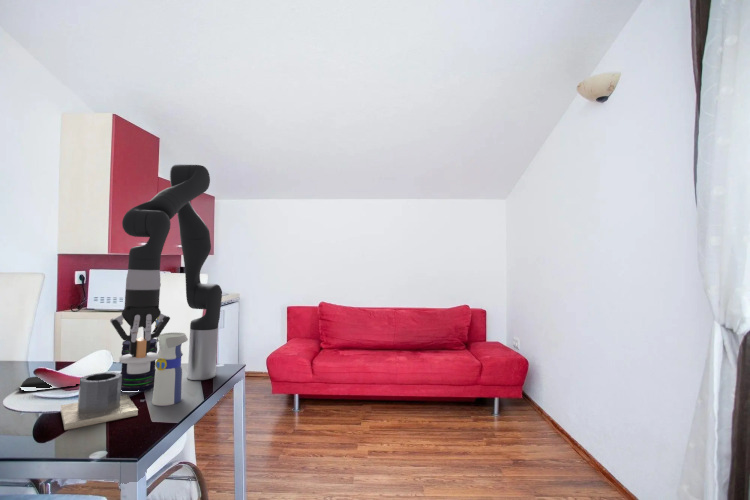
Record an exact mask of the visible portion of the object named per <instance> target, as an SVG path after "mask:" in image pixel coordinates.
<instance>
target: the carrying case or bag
mask: <svg viewBox="0 0 750 500" xmlns="http://www.w3.org/2000/svg"><path fill="white" fill-rule="evenodd" d="M20 387H36V388H50V387H52V386H51V385H49V384H47V383H46V382H44V381H43V380H41V379H40V378H38V377H37V376H30V377H27V378H26V379H25V380H24V381H23V382H22V383H21V385H20V386H19V391H21V392H22V393H26V392H25V391H24V390H21V388H20Z"/></svg>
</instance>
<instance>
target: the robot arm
mask: <svg viewBox="0 0 750 500" xmlns="http://www.w3.org/2000/svg"><path fill="white" fill-rule="evenodd" d="M210 177H211V176H210V173H209V170H208V168H206V166H204V165H201V164H174V165H172V166H171V167H170V171H169V181H170V187H167V188H165V189H163V190H161V191H159V192H158V193H157V194H156V195H155V196H153V197H152V198H151V199H150V200H148V201H146V202H143V203H140V204H138V205H136V206H133V207H132V208H130V209H129V210H128V211H127V212H125V214H124V216H123V218H122V221H121V224H122V229H123V231H124V232H125V233H126V234H127V235H129V236H130V237H135V238H136V237H137V238H148V240H147V242H146V243H145V244H143V245H142V244H141V245H137V246H133V247H131V248H130V249H129V253H128V266H127V274H126V279H125V280H126V281H125V294H124V307H123V310H122V312H121V315H119V316H116V317H115V318H110V321H109V322H110V324H111V325H112V327H113V328H114V329H115V331H116V333H117V334H118V335H119V337H120V338H121V339H122V340H123V341H126V340H127V341H129V342H130V343H129V353H130V355H132V357H136V348H137V342H136V340H137V338H138V333H139V329H140V328H142V331H143V337H142V338H144V339H145V340H147V343H146V355H147V353H149V351H150V341H151V339H157V337H158V336H159V335H160V334H162V333H163V330H164V329H165V327H166V326H167V324H168V323H169V321H170V320H171V317H170V316H168V315H166V314H163V313H161V312H162V311H161V309H160V294H161V283H162V282H161V258H162V252H163V250H164V246H165V244H166V240H167V238H168V235H169V233H170V229H171V220H172V219H173V218H174V216H176V215H177V219H178V221H177V222H178V227H179V237H180V245H181V250H182V255H183V262H184V263H183V264H184V265H183V266H184V272H185V276H184V277H185V297H186V302H187V304H188V307H189V308H190V309H193V310H205V314H204V315H203V316H200V317H198V318H194V319H192V320H191V321H190V324H189V345H188V360H187V375H186V378H187V379H188V380H190V381H191V380H192V381H205V380H209V379H213V378H215V377H216V374H217V373H216V372H217V371H216V370H217V358H218V357H217V355H218V354H217V353H218V339H219V337H218V334H219V322H220V318H221V306H222V300H223V299H222V298H223V291H222V288H221V286H220V284H216V283H202V282H201V270H202V268H203V265H204V263H205V262H206V260H207V258H208V256H209V255H210V254H211V249H212V243H211V242H212V241H211V233H210V229H209V228H208V225H206V223H205V222H204V220H203V219H202V218H201V216H200V215H199V213H197V212H196V211H195V208H194V207H193V205H192V203H191V201H192V200H195V199H196V198H198V197H199V196H200V195H202V194H204V193H205V192H206V191H207V190H208V189H209V187H210V185H211V184H210V183H211V178H210ZM158 317H159V319H158V321H159V323H158V325H157V326H156V327H155V326H154V329H153V331H152V325H153V324H154V323H155V320H157V318H158ZM123 321H125V322H126V323H127V324H128V325H129V334H127V333H126V332H125V330H124V328H123V327H122V326H123V324H124V322H123Z"/></svg>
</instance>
